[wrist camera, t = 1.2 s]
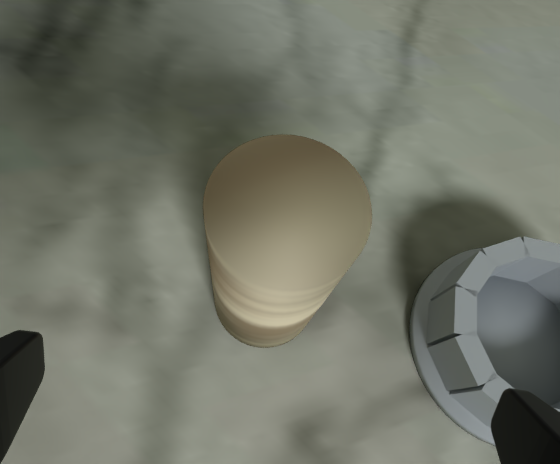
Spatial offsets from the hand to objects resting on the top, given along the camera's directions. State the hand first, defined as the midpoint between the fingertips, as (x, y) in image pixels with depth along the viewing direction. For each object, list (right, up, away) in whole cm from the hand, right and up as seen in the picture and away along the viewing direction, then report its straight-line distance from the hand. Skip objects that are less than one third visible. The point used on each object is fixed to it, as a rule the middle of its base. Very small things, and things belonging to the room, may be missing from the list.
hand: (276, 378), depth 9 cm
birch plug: (-1, 0, +14) cm, 14 cm away
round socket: (+12, -3, +14) cm, 19 cm away
